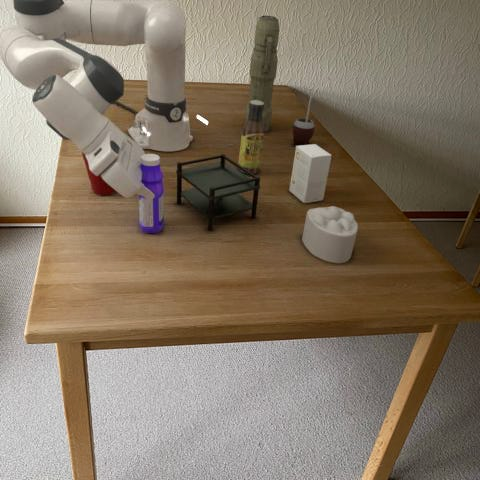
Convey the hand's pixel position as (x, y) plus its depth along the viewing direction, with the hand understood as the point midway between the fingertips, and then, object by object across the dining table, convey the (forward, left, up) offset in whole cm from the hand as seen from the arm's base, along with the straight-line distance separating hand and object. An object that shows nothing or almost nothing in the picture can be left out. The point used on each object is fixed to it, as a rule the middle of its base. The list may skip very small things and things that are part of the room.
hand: (153, 189), depth 115 cm
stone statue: (-44, +63, -10) cm, 78 cm away
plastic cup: (-22, -3, -10) cm, 25 cm away
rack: (0, +17, -10) cm, 20 cm away
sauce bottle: (-16, +39, -10) cm, 44 cm away
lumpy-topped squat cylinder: (+27, +31, -10) cm, 42 cm away
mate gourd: (-26, +68, -10) cm, 74 cm away
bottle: (0, -1, -10) cm, 10 cm away
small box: (+4, +44, -10) cm, 46 cm away
